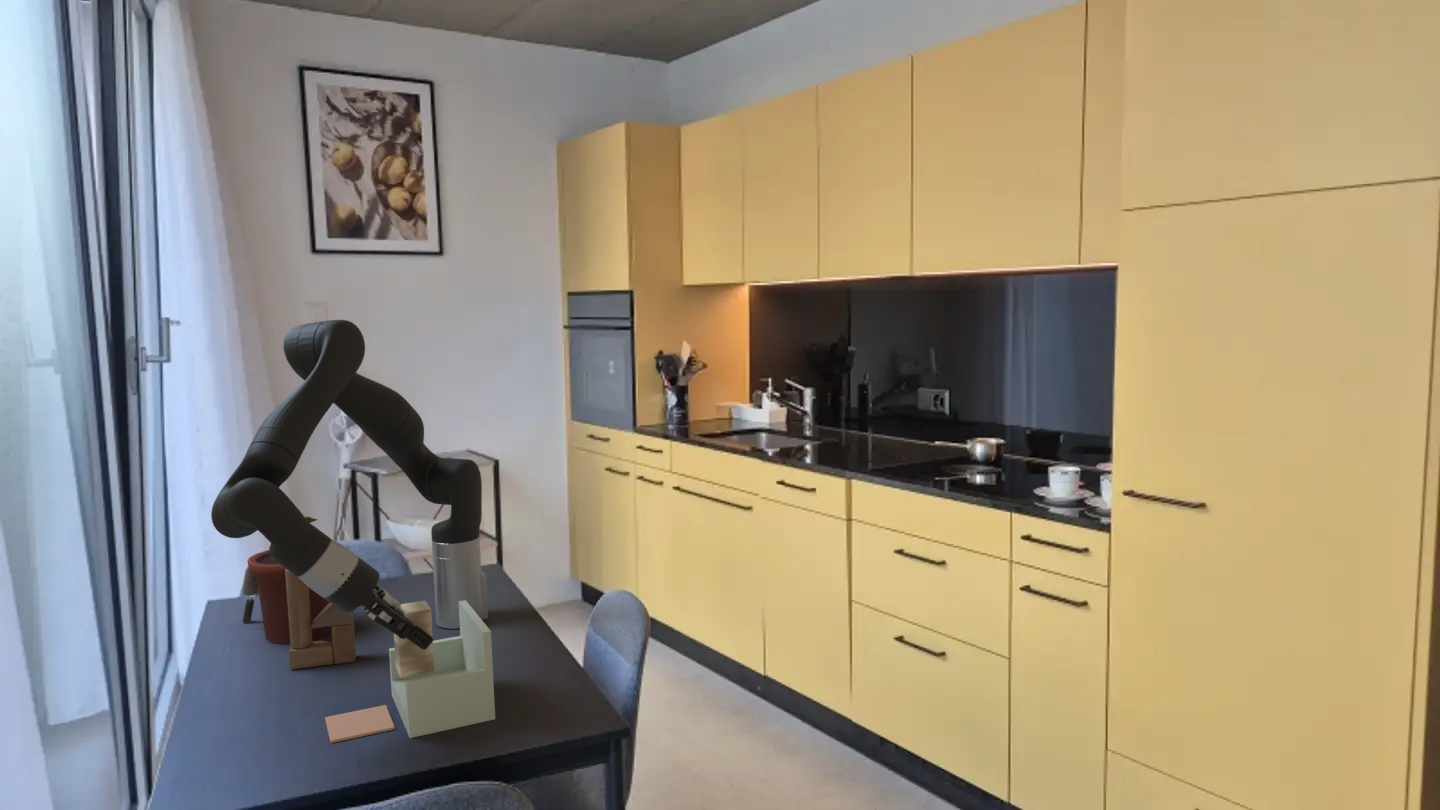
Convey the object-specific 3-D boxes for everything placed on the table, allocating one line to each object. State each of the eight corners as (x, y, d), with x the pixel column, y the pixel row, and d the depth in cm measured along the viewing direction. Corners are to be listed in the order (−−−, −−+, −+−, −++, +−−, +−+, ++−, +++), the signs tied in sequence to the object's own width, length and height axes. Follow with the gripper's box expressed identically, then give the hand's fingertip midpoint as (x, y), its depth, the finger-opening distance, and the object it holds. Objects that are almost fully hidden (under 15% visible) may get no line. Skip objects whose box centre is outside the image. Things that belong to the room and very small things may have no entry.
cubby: (409, 738, 139) (404, 646, 138) (391, 695, 155) (386, 613, 153) (495, 719, 145) (490, 631, 144) (469, 680, 160) (465, 600, 159)
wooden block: (355, 662, 170) (348, 564, 168) (290, 670, 166) (282, 571, 164) (356, 655, 173) (349, 559, 171) (292, 663, 170) (285, 566, 168)
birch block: (400, 678, 144) (397, 614, 143) (395, 667, 148) (392, 605, 147) (434, 671, 146) (431, 609, 145) (428, 661, 151) (425, 600, 150)
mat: (330, 743, 138) (330, 740, 138) (325, 719, 146) (325, 717, 146) (394, 729, 142) (394, 726, 142) (386, 707, 150) (385, 704, 150)
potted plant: (245, 656, 174) (234, 523, 171) (242, 622, 193) (233, 502, 190) (347, 638, 182) (338, 511, 179) (335, 607, 201) (327, 492, 198)
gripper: (362, 566, 135) (451, 633, 142) (351, 545, 148) (433, 607, 155) (325, 608, 134) (417, 674, 140) (316, 583, 146) (401, 644, 153)
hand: (425, 638), depth 148 cm, fingers closed on birch block, 5 cm apart
